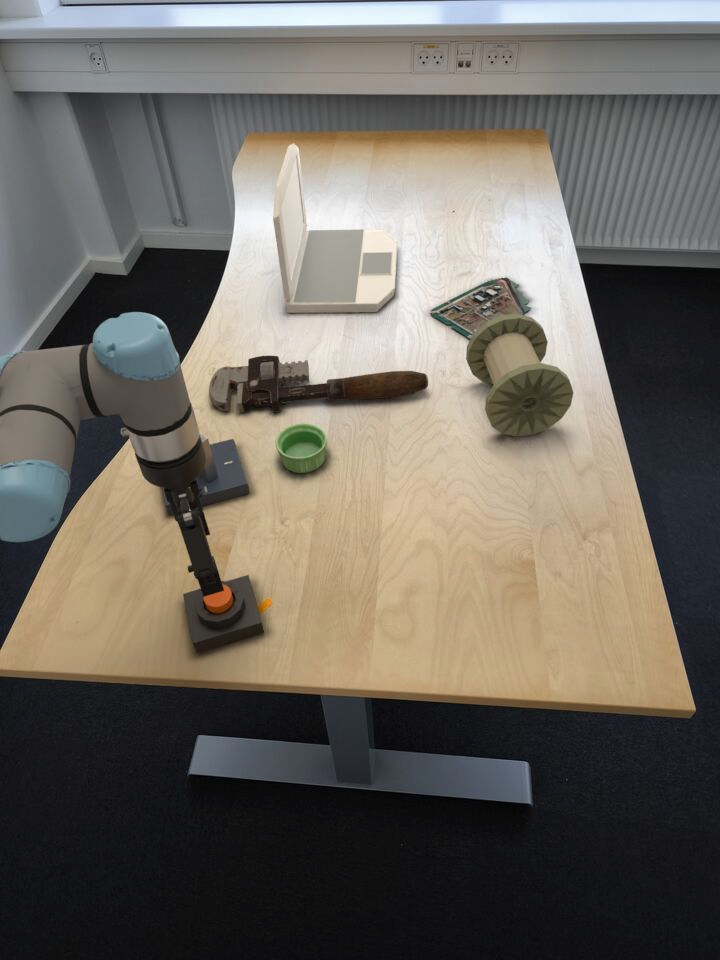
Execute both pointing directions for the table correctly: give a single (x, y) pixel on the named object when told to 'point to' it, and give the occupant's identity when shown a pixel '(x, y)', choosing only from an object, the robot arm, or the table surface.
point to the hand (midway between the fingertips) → (206, 562)
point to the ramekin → (302, 447)
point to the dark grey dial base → (221, 476)
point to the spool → (518, 375)
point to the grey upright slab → (208, 461)
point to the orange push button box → (223, 617)
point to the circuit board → (481, 306)
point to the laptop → (328, 255)
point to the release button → (219, 601)
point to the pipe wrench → (268, 374)
